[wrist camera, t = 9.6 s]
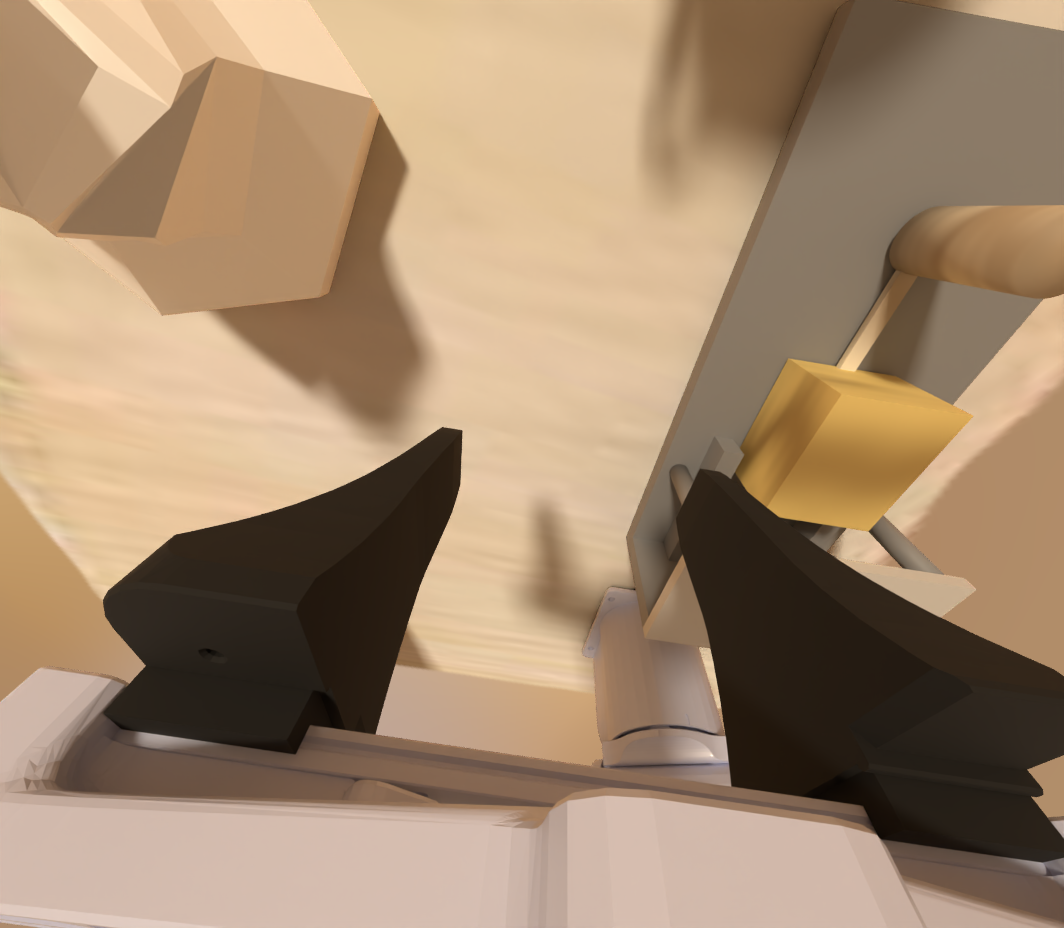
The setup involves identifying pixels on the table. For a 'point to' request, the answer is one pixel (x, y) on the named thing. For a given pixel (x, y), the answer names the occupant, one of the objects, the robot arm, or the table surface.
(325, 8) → the table surface
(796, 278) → the plate
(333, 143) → the cream faceted rock
